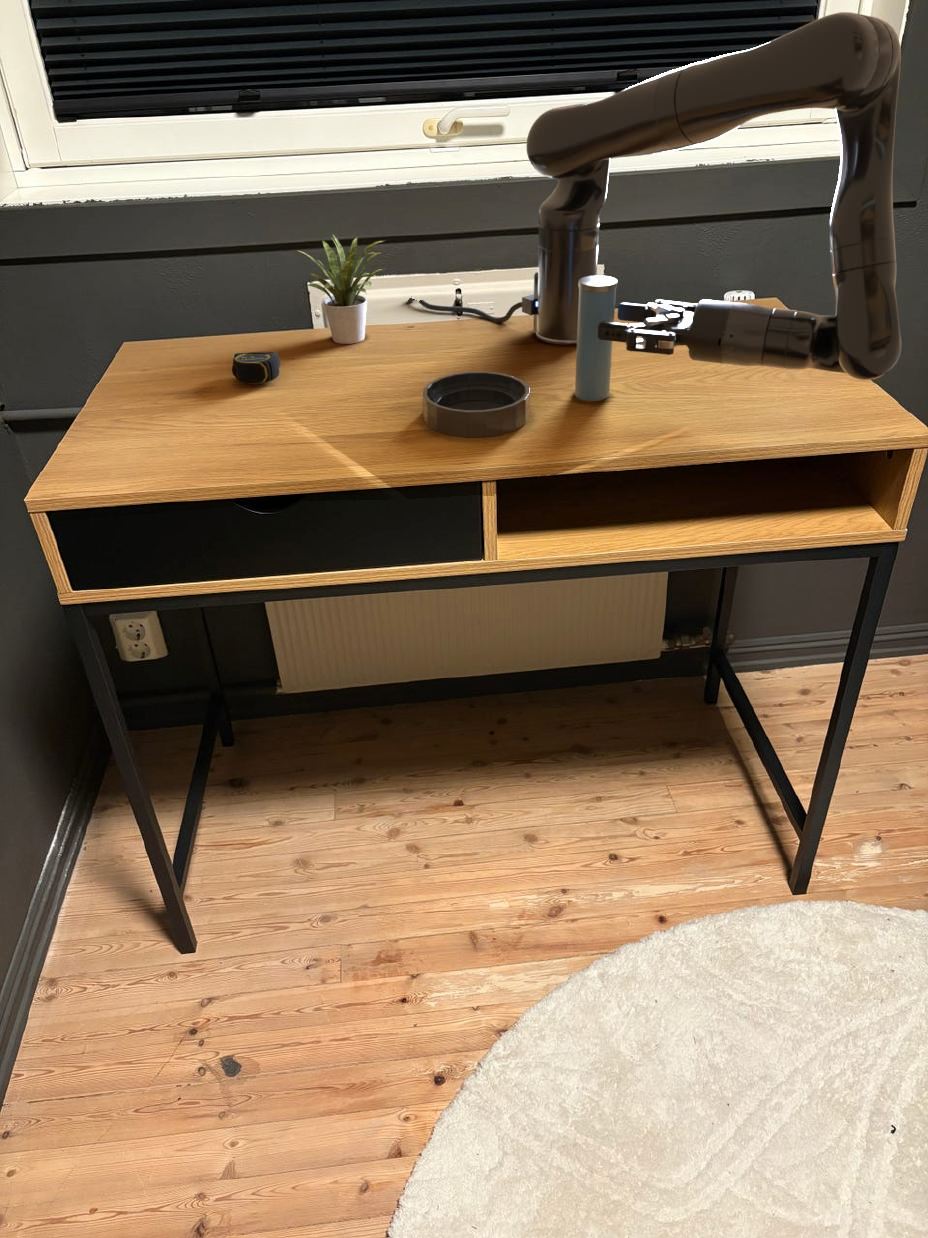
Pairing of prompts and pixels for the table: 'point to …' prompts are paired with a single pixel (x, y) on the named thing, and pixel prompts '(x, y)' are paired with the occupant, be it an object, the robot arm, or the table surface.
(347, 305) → the house plant
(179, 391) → the table surface
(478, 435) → the bowl
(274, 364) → the tape measure
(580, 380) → the canister
